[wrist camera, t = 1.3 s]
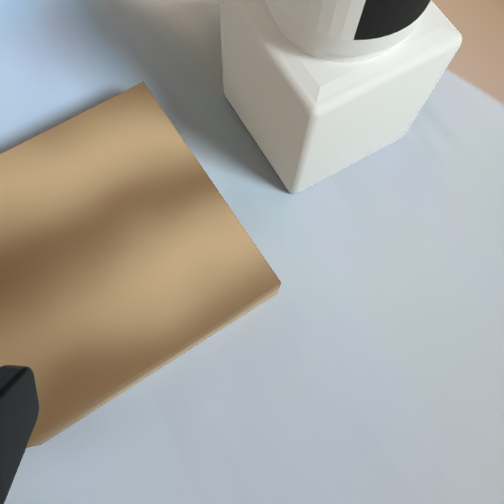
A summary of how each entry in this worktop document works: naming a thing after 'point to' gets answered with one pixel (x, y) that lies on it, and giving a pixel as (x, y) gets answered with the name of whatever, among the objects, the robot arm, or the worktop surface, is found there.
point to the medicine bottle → (330, 76)
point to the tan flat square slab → (114, 256)
